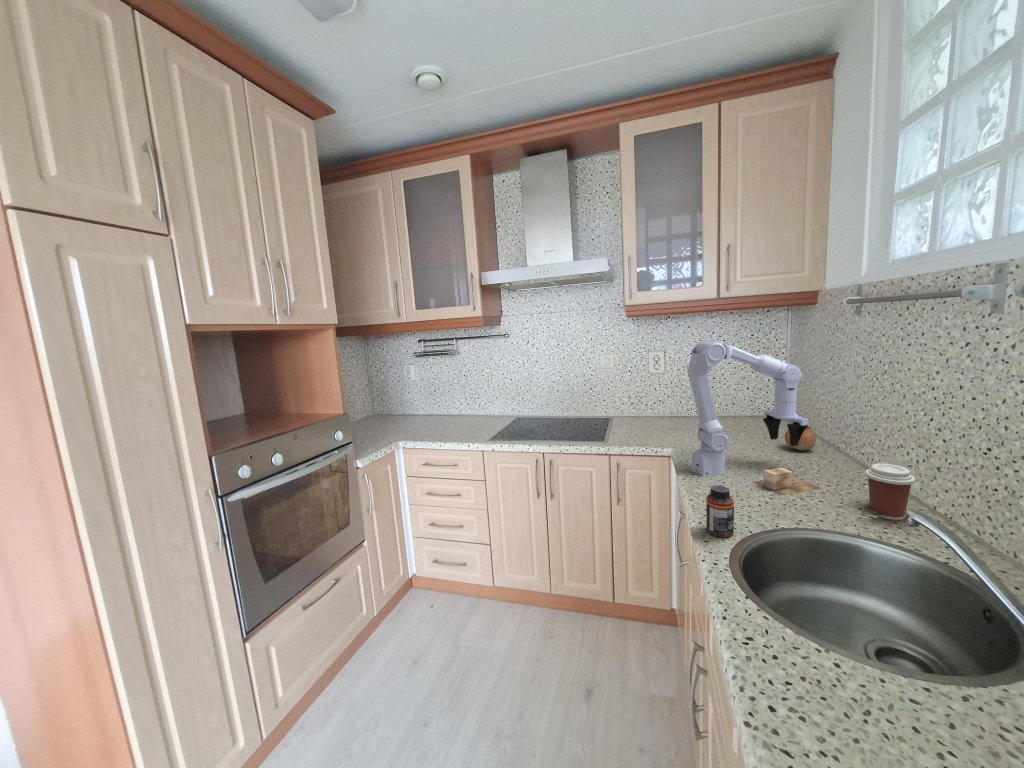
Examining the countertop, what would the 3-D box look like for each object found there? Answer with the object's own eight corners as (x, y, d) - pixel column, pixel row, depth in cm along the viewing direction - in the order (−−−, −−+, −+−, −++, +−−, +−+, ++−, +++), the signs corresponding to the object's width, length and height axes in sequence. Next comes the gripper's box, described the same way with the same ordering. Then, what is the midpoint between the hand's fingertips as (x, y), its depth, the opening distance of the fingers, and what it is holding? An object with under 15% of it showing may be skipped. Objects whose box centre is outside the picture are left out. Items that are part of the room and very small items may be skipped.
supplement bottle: (709, 523, 100) (709, 481, 98) (736, 530, 96) (736, 486, 95) (703, 534, 95) (703, 489, 94) (731, 541, 92) (731, 495, 90)
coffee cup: (863, 502, 106) (866, 459, 104) (912, 511, 99) (915, 466, 98) (861, 515, 99) (864, 469, 97) (913, 526, 93) (917, 477, 91)
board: (779, 499, 111) (780, 494, 110) (752, 485, 120) (752, 481, 120) (822, 492, 113) (822, 488, 113) (791, 479, 123) (792, 475, 122)
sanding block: (773, 491, 113) (774, 474, 112) (763, 486, 117) (764, 470, 116) (791, 488, 114) (792, 471, 113) (781, 483, 118) (781, 467, 117)
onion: (813, 448, 149) (814, 422, 148) (817, 455, 141) (818, 428, 140) (783, 445, 154) (784, 420, 153) (785, 453, 146) (786, 426, 145)
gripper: (817, 403, 120) (815, 446, 121) (776, 396, 134) (775, 435, 136) (797, 406, 118) (795, 449, 120) (758, 398, 132) (757, 437, 134)
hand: (783, 442), depth 128 cm, fingers open, 7 cm apart
